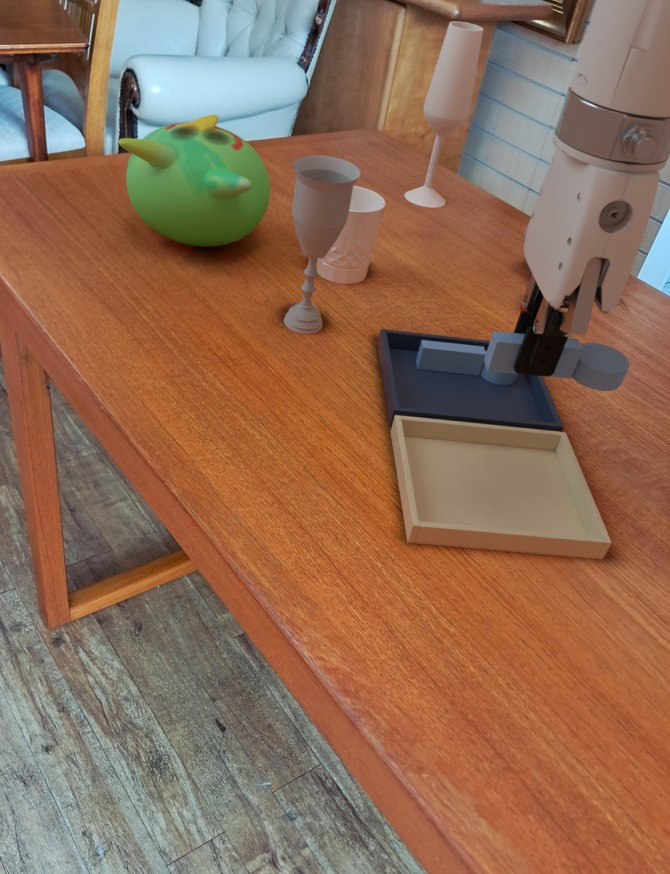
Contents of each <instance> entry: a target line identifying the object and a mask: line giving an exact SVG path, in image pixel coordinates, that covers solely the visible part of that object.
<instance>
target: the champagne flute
mask: <svg viewBox="0 0 670 874" xmlns="http://www.w3.org/2000/svg"><path fill="white" fill-rule="evenodd" d="M483 34H484V28H483V27H482V26H480V25H478V24H475V23H471V22H466V21H455V20H454V21H449V23H448V26H447V29H446V33H445V35H444V39H443V41H442V45H441V49H440V52H439V55H438V57H437V58H438V59H437V61H436V64H435V68H434V71H433V74H432V77H431V81H430V83H429V88H428V91H427V92H426V93H427V94H426V97H425V101H424V103H423V109H422V111H423V115H424V118H425V120H426V122H427V124H428V125H429V127H430V128H431V130H432V131H433V132H434V133H435V139H434V143H433V147H432V150H431V156H430V160H429V163H428V168H427V171H426V176H425V180H424V184H423V185H422V186H419V187H416V188H413V189H410V190H408V191H405V192H404V194H403V196H404V198H405V199H406V200H407V202H409V203H412V204H413V205H416V206H420V207H423V208H430V209H432V208H433V209H435V208H436V209H437V208H441V207H444V206H445V205H446V204H447V202H446V200H445V198H444V197H443V196H442V195H441V194H439V192H437V191H436V190H435V189H434V188H433V183H434V178H435V175H436V171H437V166H438V162H439V158H440V154H441V151H442V146H443V142H444V138H445V136H448V135H450V134H451V133H453V132H454V131H456V130H457V129H459V128H460V127H461V126H463V125H464V123H465V122H466V121H467V119H469V115H470V111H471V105H472V100H473V99H472V98H473V93H474V88H475V87H474V86H475V82H476V76H477V75H476V74H477V69H478V65H479V64H478V62H479V57H480V51H481V45H482V39H483Z"/></svg>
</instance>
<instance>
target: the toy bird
mask: <svg viewBox="0 0 670 874" xmlns="http://www.w3.org/2000/svg"><path fill="white" fill-rule="evenodd" d="M218 121H219V116H218V114H208V115H205V116H202V117H199V118H196V119H195V120H192V121H190V122H178V123H172V124H168V125H165V126H162V127H159V128H156V129H155V130H152V131H150V133H148V134H146V135H145V136H144V137H143V138H142V139H141V138H131V137H124V138H123V137H122V138H120V139H118V142H117V143H118V145H119V146H120V147H121V148H122V149H123V150H125V151H127V152H128V153H130V154H131V155H130V157H129V160H128V162H127V166H126V172H125V185H126V191H127V195H128V198H129V201H130V204H131V205H132V208H133V209H134V211H135V212H136V214H137V215H138V217H139V218H140V219H141V220H142V221H143V222H144V224H145V225H147V226H148V227H149V228H150V229H152V230H153V231H155V233H157V234H159V235H160V236H163V237H165V238H167V239H169V240H171V241H174V242H175V243H176V242H177V243H180V244H184V245H188V246H192V247H193V246H194V247H203V248H204V247H208V248H209V247H218V246H224V245H228V244H232V243H234V242H237V241H239V240H241V239H244V238H245V237H246V236H248V235H249V234H250V233H251V232H253V231H254V230H255V228H257V226H259V224H260V223H261V221H262V220H263V218H264V216H265V214H266V212H267V209H268V206H269V202H270V195H271V184H270V183H271V182H270V177H269V173H268V170H267V167H266V164H265V163H264V161H263V159H262V157H261V156H260V154H259V153H258V152H257V150H256V149H255V148H254V147H253V145H251V144H250V143H249V142H247V141H246V140H245V139H243V138H242V137H241V136H240V135H237V134H236V133H233V132H232V131H230V130H228V129H225V128H223V127H220V126H217V124H218Z"/></svg>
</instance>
